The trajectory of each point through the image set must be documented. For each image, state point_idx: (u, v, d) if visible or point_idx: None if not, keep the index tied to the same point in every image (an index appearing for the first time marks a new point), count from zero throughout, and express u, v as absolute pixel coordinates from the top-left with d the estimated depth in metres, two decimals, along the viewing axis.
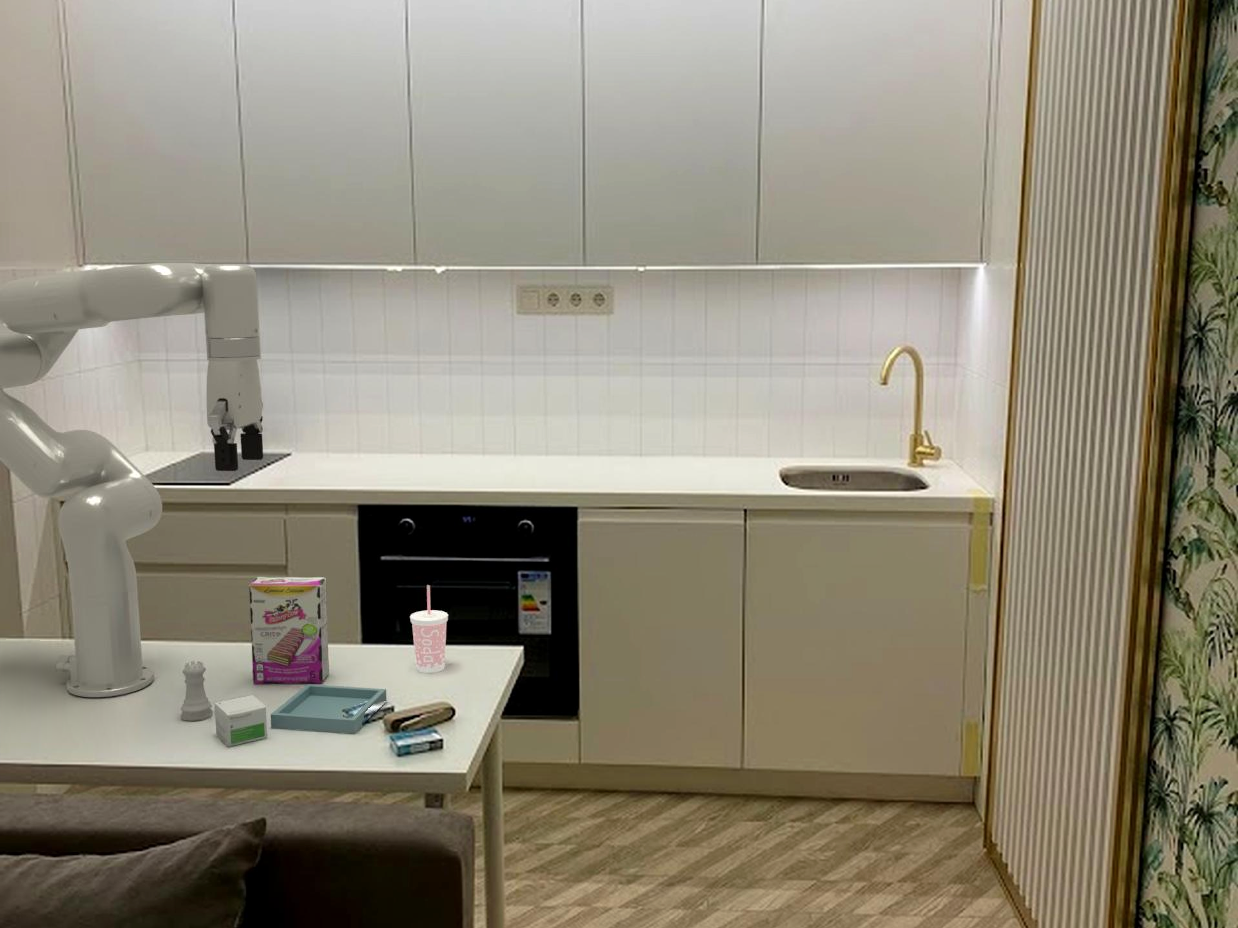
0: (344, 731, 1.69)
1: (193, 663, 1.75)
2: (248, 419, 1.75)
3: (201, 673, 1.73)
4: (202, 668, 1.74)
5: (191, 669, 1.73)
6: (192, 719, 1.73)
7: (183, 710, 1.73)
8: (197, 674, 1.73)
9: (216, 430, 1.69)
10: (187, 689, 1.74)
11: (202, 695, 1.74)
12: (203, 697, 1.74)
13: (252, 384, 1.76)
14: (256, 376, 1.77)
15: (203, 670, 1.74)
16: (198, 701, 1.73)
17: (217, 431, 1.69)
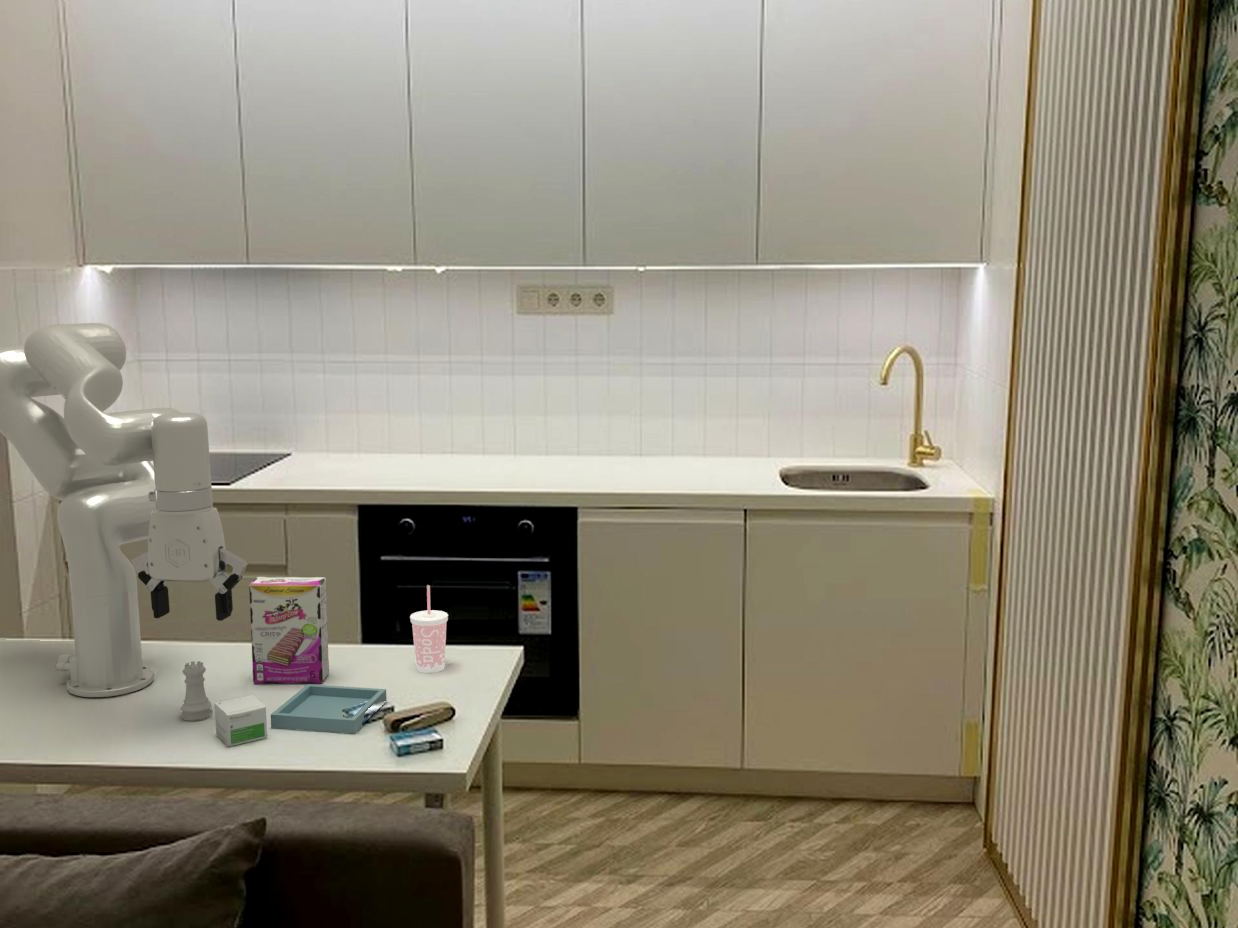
0: (344, 731, 1.69)
1: (193, 663, 1.75)
2: None
3: (201, 673, 1.73)
4: (202, 668, 1.74)
5: (191, 669, 1.73)
6: (192, 719, 1.73)
7: (183, 710, 1.73)
8: (197, 674, 1.73)
9: (240, 576, 1.70)
10: (187, 689, 1.74)
11: (202, 695, 1.74)
12: (203, 697, 1.74)
13: None
14: None
15: (203, 670, 1.74)
16: (198, 701, 1.73)
17: (240, 576, 1.70)
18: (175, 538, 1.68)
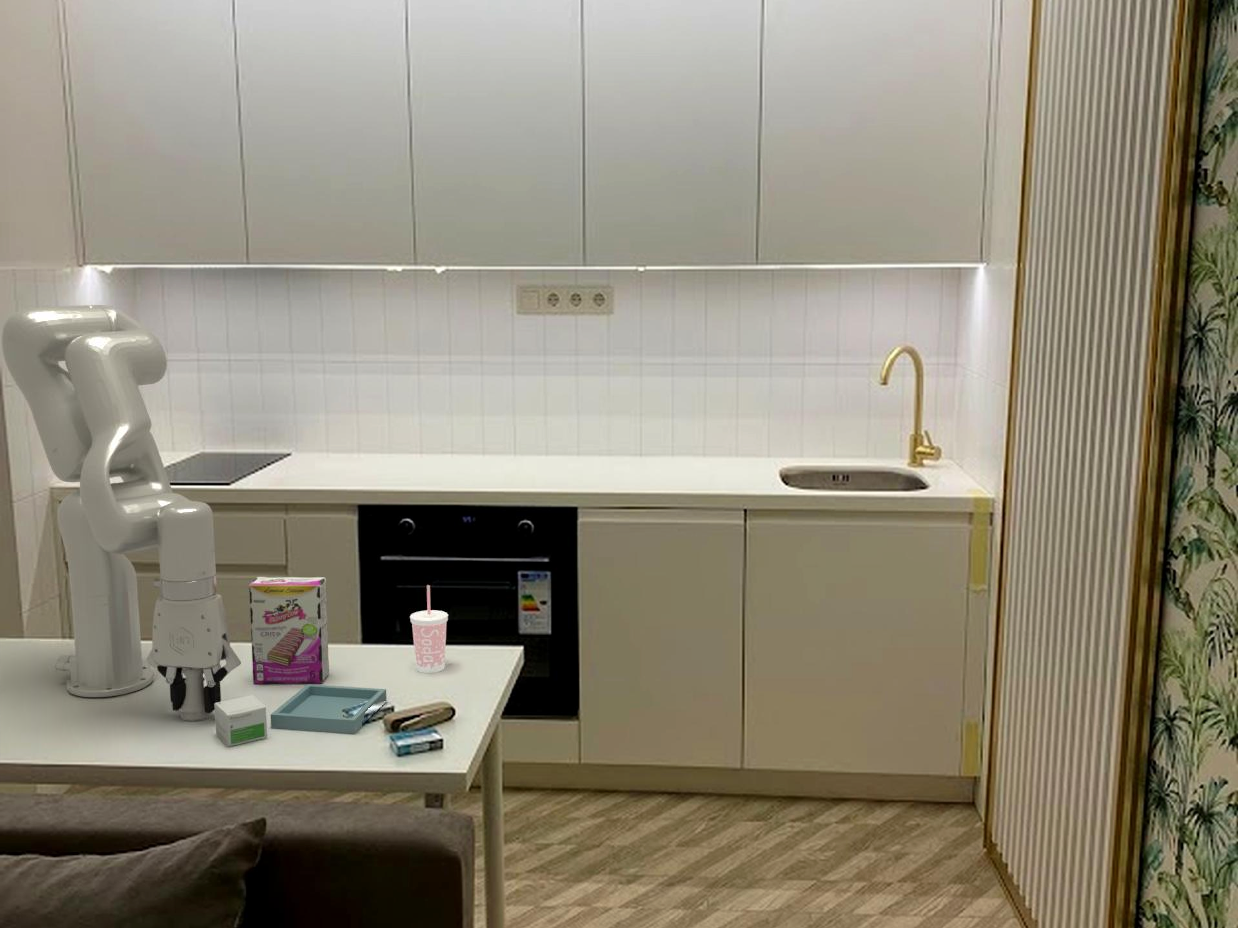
0: (344, 731, 1.69)
1: None
2: None
3: (201, 673, 1.73)
4: None
5: (191, 669, 1.73)
6: (192, 719, 1.73)
7: (183, 710, 1.73)
8: (197, 673, 1.73)
9: None
10: (187, 689, 1.74)
11: (202, 695, 1.74)
12: (203, 697, 1.74)
13: None
14: None
15: None
16: (198, 701, 1.73)
17: (228, 672, 1.73)
18: (179, 626, 1.70)
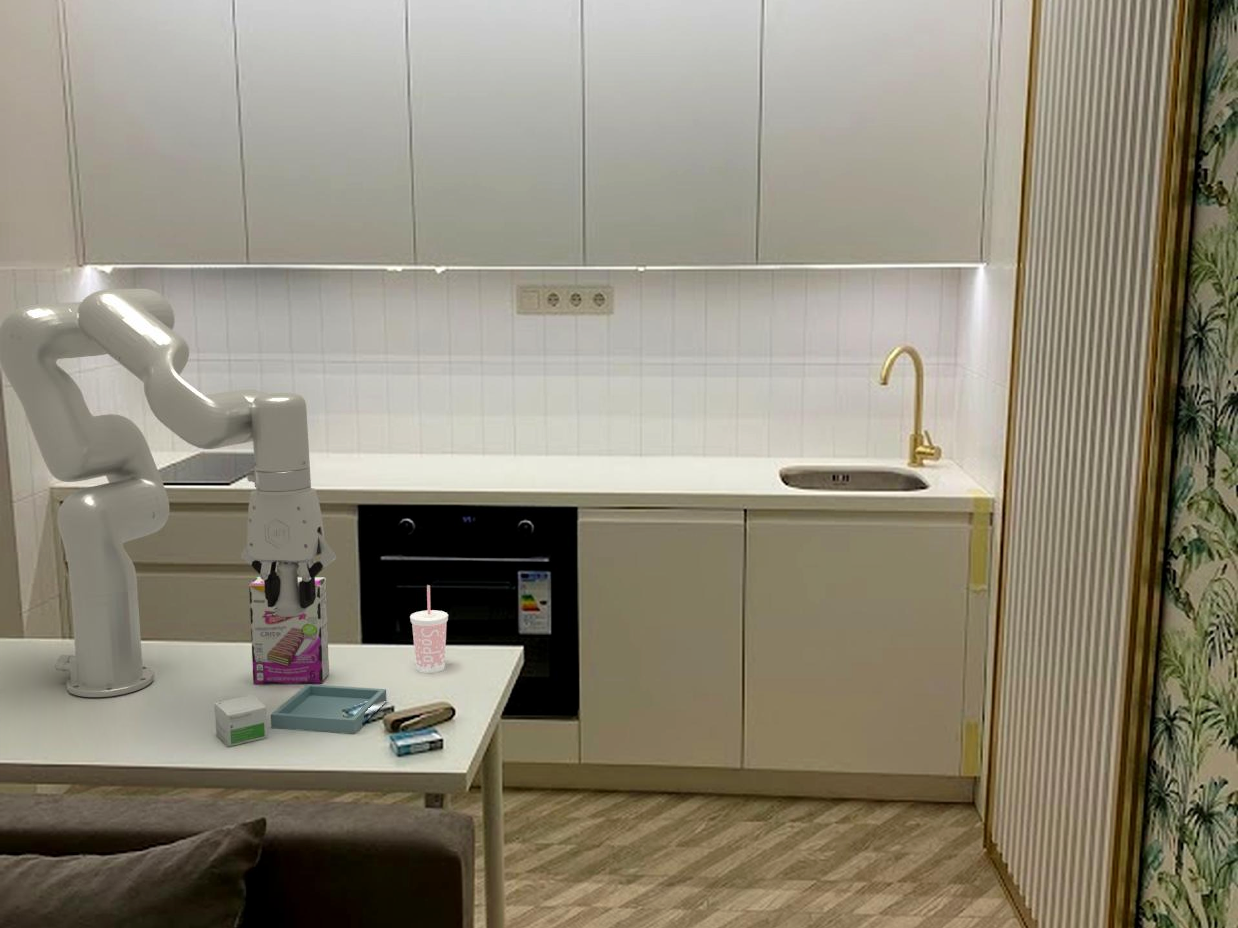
0: (344, 731, 1.69)
1: None
2: None
3: (295, 568, 1.71)
4: (296, 563, 1.71)
5: (286, 564, 1.70)
6: (287, 615, 1.71)
7: (278, 606, 1.71)
8: (292, 568, 1.70)
9: (324, 566, 1.71)
10: (281, 585, 1.71)
11: (297, 591, 1.72)
12: (298, 593, 1.72)
13: None
14: None
15: (297, 565, 1.71)
16: (293, 597, 1.71)
17: None
18: (275, 519, 1.68)
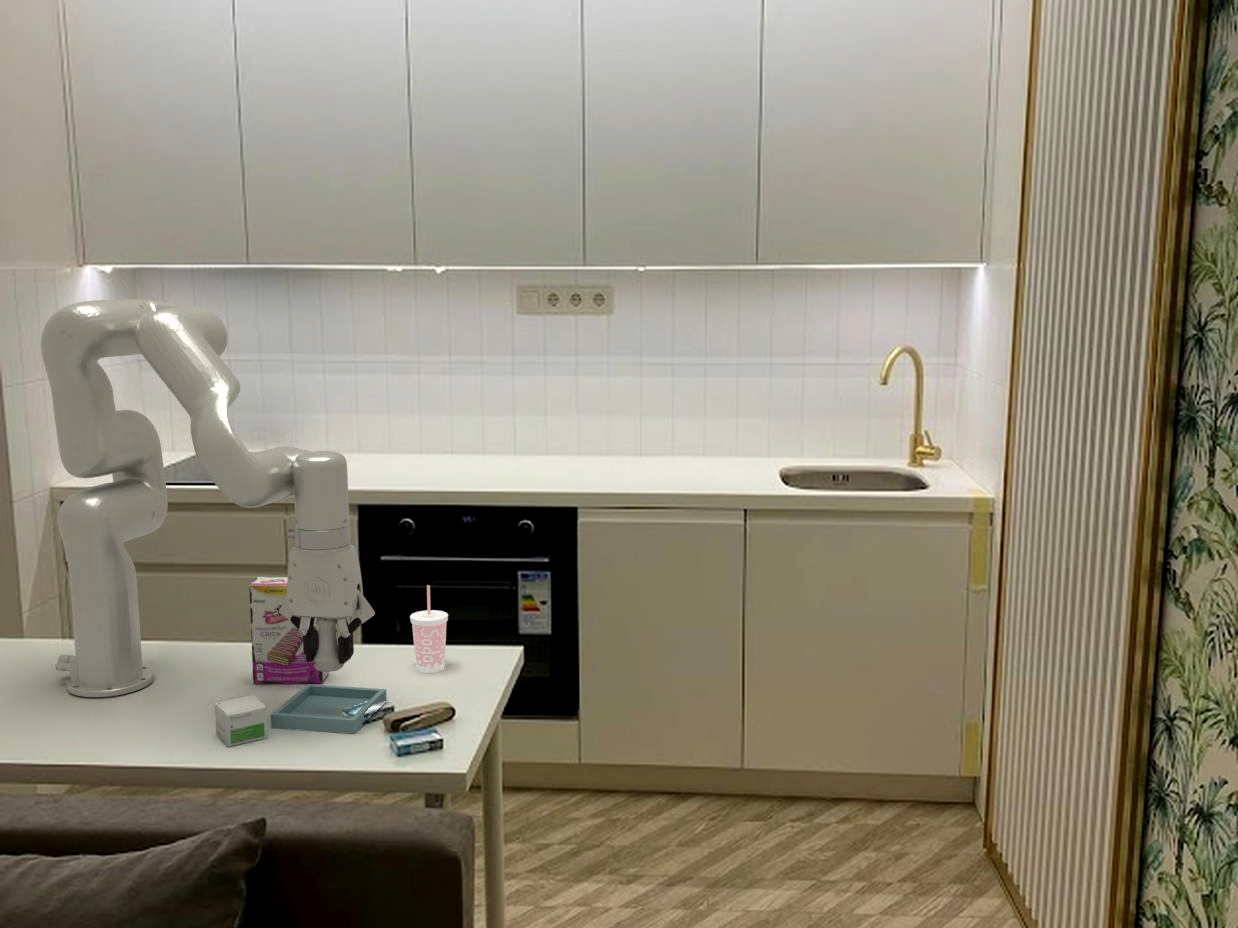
0: (344, 731, 1.69)
1: None
2: None
3: (335, 623, 1.73)
4: (335, 619, 1.73)
5: (325, 619, 1.72)
6: (326, 670, 1.72)
7: (317, 661, 1.73)
8: (331, 624, 1.72)
9: (363, 622, 1.73)
10: (320, 640, 1.73)
11: (335, 646, 1.73)
12: (336, 648, 1.74)
13: None
14: None
15: (336, 621, 1.73)
16: (332, 652, 1.73)
17: None
18: (315, 576, 1.70)
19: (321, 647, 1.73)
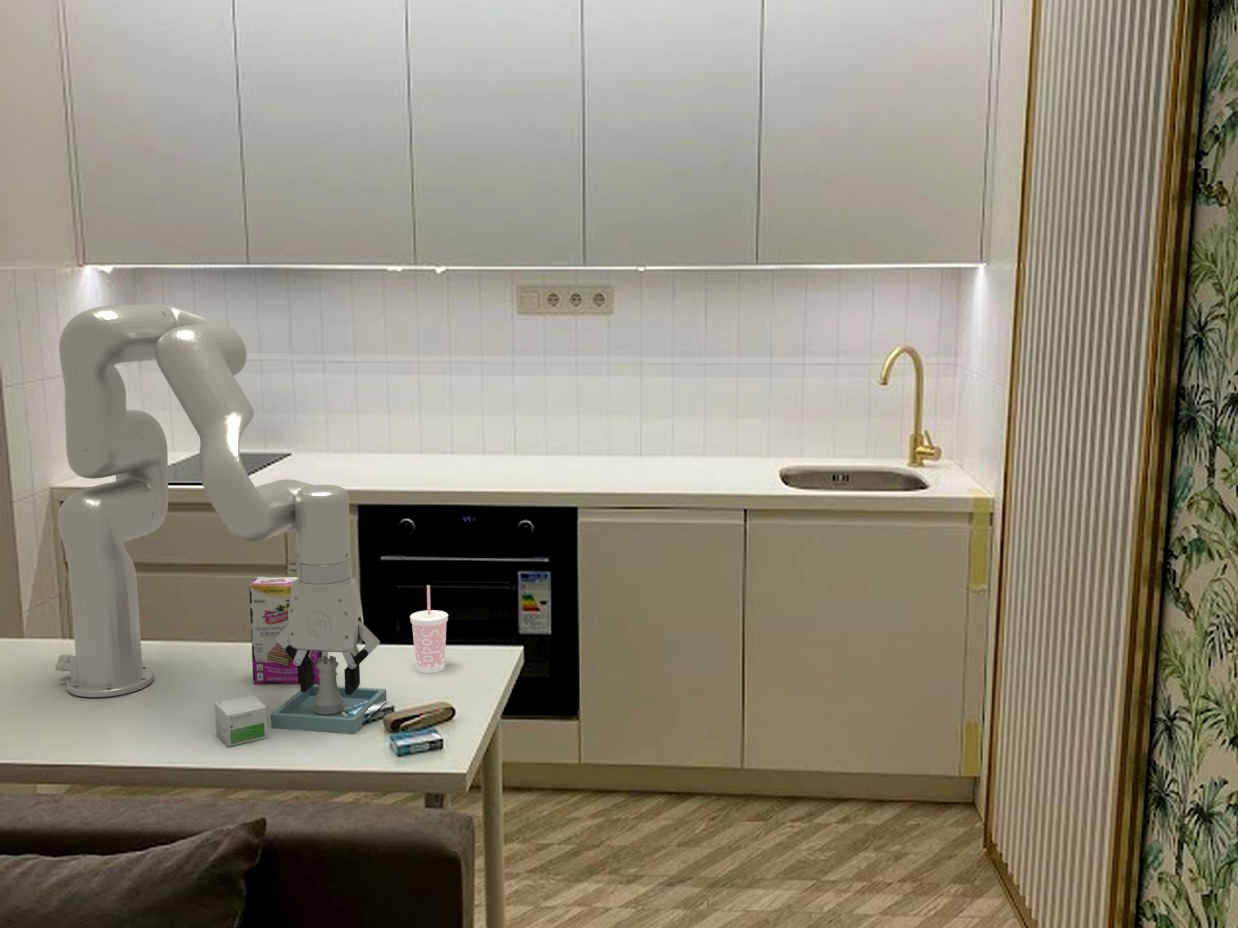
0: (344, 731, 1.69)
1: (326, 657, 1.75)
2: None
3: (335, 667, 1.74)
4: (335, 662, 1.74)
5: (325, 663, 1.73)
6: (326, 713, 1.74)
7: (317, 704, 1.74)
8: (331, 668, 1.73)
9: None
10: (320, 683, 1.74)
11: (335, 689, 1.75)
12: (336, 691, 1.75)
13: None
14: None
15: (336, 664, 1.74)
16: (332, 696, 1.74)
17: (369, 653, 1.73)
18: (316, 609, 1.70)
19: (321, 691, 1.74)
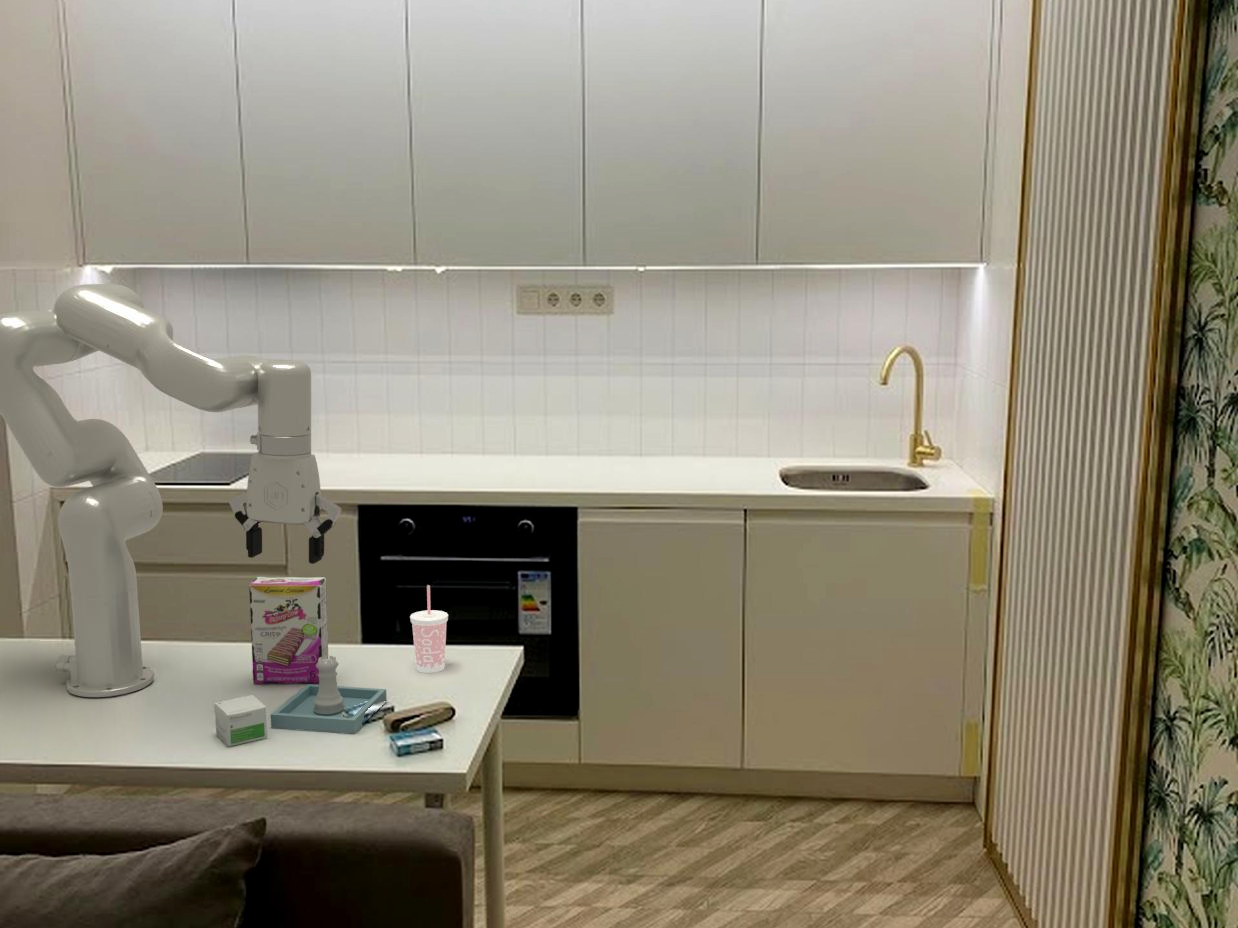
0: (344, 731, 1.69)
1: (325, 657, 1.75)
2: None
3: (335, 667, 1.74)
4: (335, 662, 1.74)
5: (325, 663, 1.73)
6: (326, 713, 1.74)
7: (317, 704, 1.74)
8: (331, 668, 1.73)
9: (334, 521, 1.76)
10: (320, 683, 1.74)
11: (335, 689, 1.75)
12: (336, 691, 1.75)
13: None
14: None
15: (336, 664, 1.74)
16: (332, 696, 1.74)
17: (334, 522, 1.76)
18: (274, 481, 1.74)
19: (321, 691, 1.74)
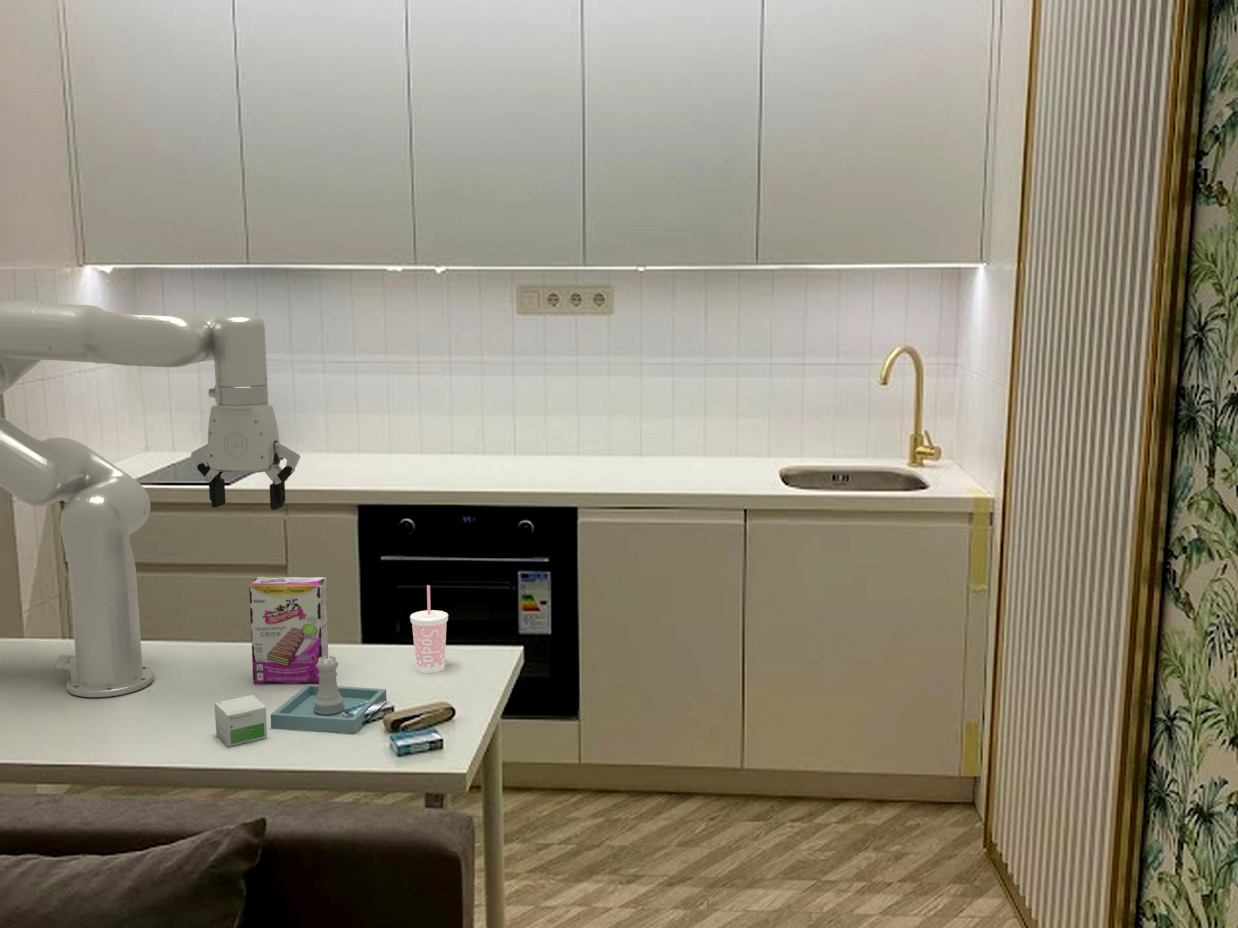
0: (344, 731, 1.69)
1: (325, 657, 1.75)
2: None
3: (335, 667, 1.74)
4: (335, 662, 1.74)
5: (325, 663, 1.73)
6: (326, 713, 1.74)
7: (317, 704, 1.74)
8: (331, 668, 1.73)
9: (293, 468, 1.82)
10: (320, 683, 1.74)
11: (335, 689, 1.75)
12: (336, 691, 1.75)
13: None
14: None
15: (336, 664, 1.74)
16: (332, 696, 1.74)
17: (293, 469, 1.82)
18: (234, 431, 1.80)
19: (321, 691, 1.74)
